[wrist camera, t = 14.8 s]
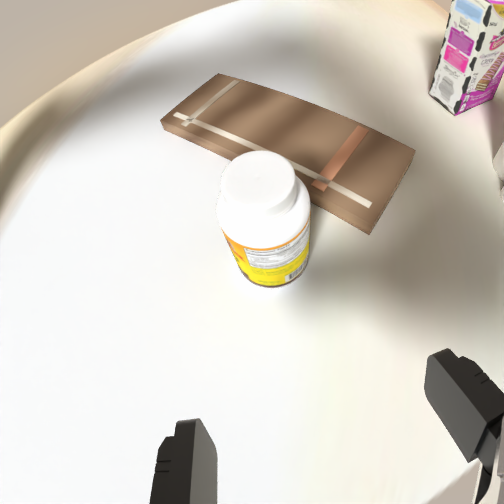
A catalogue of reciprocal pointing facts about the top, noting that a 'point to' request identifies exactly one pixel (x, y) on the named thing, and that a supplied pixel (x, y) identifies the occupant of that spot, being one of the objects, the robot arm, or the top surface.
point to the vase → (500, 166)
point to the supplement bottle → (265, 218)
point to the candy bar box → (470, 55)
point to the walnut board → (297, 144)
